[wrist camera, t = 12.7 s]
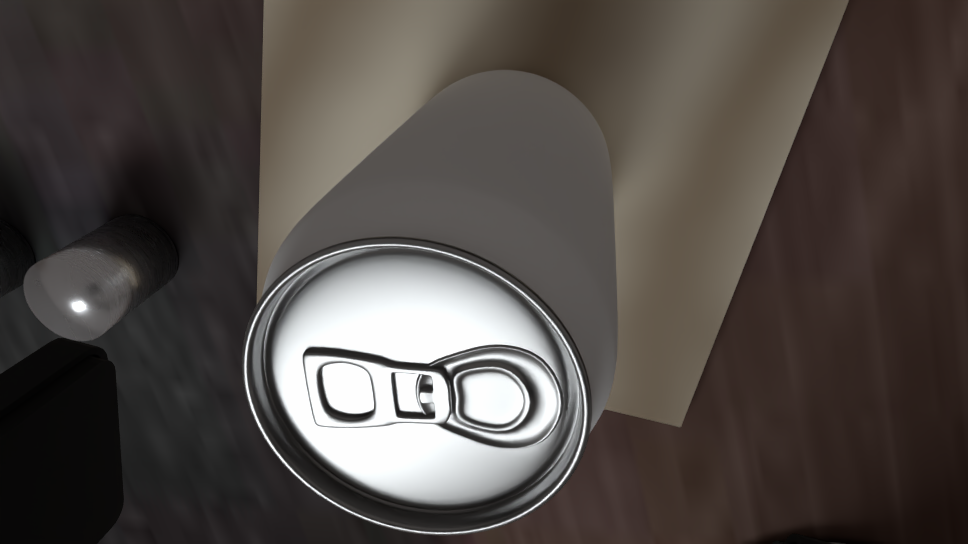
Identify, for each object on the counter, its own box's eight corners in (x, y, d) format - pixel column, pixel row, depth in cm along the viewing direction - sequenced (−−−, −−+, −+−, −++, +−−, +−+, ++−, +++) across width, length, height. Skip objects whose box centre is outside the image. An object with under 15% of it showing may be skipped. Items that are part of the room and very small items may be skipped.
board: (862, -62, 18) (873, -62, 17) (678, 413, 25) (680, 427, 24) (280, -174, 19) (268, -178, 18) (265, 315, 26) (256, 325, 25)
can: (608, 268, 22) (613, 572, 11) (415, 263, 23) (256, 537, 13) (616, 63, 19) (632, 212, 9) (397, 68, 20) (171, 206, 10)
